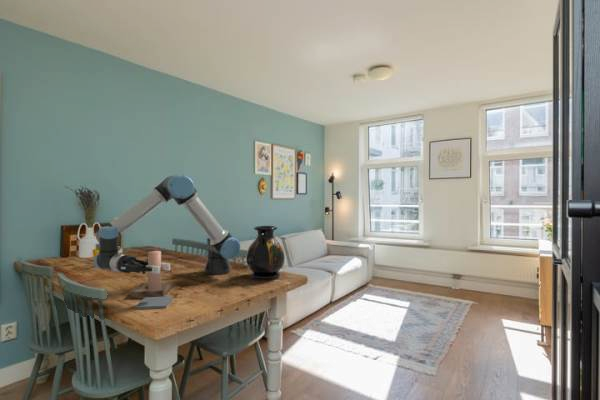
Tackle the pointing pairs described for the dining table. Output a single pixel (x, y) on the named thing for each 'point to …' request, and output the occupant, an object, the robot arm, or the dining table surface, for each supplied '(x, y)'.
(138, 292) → the walnut pocket block
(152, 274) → the terracotta peg
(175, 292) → the dining table surface
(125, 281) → the dining table surface
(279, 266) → the amphora vase
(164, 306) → the slate mat
